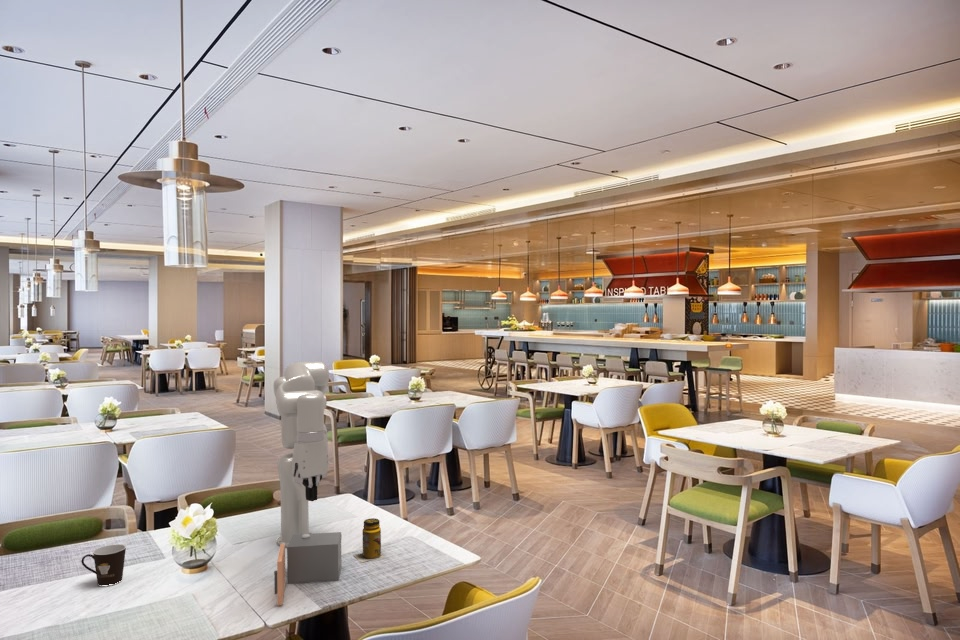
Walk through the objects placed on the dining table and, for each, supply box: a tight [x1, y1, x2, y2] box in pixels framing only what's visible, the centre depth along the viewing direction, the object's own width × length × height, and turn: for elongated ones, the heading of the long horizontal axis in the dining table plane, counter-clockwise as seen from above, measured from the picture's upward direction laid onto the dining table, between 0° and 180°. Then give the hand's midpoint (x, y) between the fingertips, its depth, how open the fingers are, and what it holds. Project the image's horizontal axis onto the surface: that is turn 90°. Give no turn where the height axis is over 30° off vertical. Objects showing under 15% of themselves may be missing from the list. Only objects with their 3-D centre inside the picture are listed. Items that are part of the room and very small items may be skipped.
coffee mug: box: [81, 544, 127, 585], centre depth 189 cm, size 12×9×10 cm
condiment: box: [353, 517, 386, 563], centre depth 207 cm, size 7×8×12 cm
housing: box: [286, 531, 343, 585], centre depth 192 cm, size 11×15×12 cm
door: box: [273, 543, 286, 606], centre depth 178 cm, size 2×15×12 cm, turn 14°
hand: (311, 499), depth 179 cm, fingers closed
